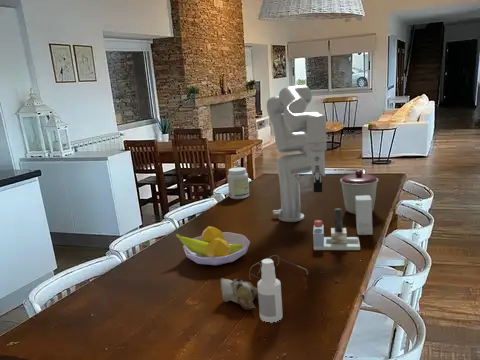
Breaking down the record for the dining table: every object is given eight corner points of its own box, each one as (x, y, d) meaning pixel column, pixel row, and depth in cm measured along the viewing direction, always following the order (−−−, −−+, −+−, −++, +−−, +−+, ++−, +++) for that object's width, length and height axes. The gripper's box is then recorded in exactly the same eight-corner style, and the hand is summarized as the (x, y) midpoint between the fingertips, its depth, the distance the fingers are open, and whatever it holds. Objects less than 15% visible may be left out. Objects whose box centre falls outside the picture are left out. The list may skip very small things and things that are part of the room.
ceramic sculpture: (228, 266, 143) (269, 276, 136) (229, 290, 145) (270, 300, 138) (211, 281, 134) (254, 292, 127) (213, 305, 136) (255, 318, 129)
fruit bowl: (258, 246, 181) (256, 221, 178) (236, 275, 156) (234, 246, 154) (197, 242, 190) (194, 218, 188) (168, 269, 166) (164, 242, 163)
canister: (338, 216, 210) (336, 174, 205) (343, 205, 226) (343, 166, 221) (376, 218, 203) (376, 174, 198) (380, 206, 219) (379, 166, 214)
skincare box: (372, 235, 183) (372, 200, 179) (356, 235, 184) (356, 200, 181) (370, 228, 191) (370, 194, 187) (355, 228, 192) (355, 195, 189)
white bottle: (258, 312, 131) (254, 257, 126) (280, 309, 131) (277, 255, 127) (261, 324, 124) (257, 267, 120) (284, 322, 124) (281, 264, 120)
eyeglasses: (276, 264, 163) (275, 252, 162) (308, 275, 153) (307, 262, 151) (246, 280, 152) (245, 267, 151) (278, 293, 142) (278, 279, 141)
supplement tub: (253, 194, 260) (251, 167, 256) (242, 200, 250) (240, 172, 246) (236, 193, 266) (234, 166, 262) (225, 198, 256) (222, 170, 252)
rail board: (313, 249, 173) (313, 233, 171) (314, 240, 182) (313, 224, 181) (360, 250, 169) (359, 233, 167) (358, 240, 179) (358, 224, 177)
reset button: (314, 227, 174) (314, 222, 174) (314, 224, 177) (314, 220, 177) (322, 227, 173) (322, 222, 173) (322, 224, 176) (322, 220, 176)
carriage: (331, 243, 173) (330, 211, 170) (331, 238, 179) (330, 207, 175) (346, 243, 172) (346, 211, 168) (346, 238, 177) (345, 206, 174)
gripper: (326, 149, 158) (328, 194, 162) (326, 142, 175) (327, 182, 179) (306, 150, 160) (307, 195, 164) (307, 143, 176) (309, 183, 180)
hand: (318, 188), depth 171 cm, fingers open, 9 cm apart
